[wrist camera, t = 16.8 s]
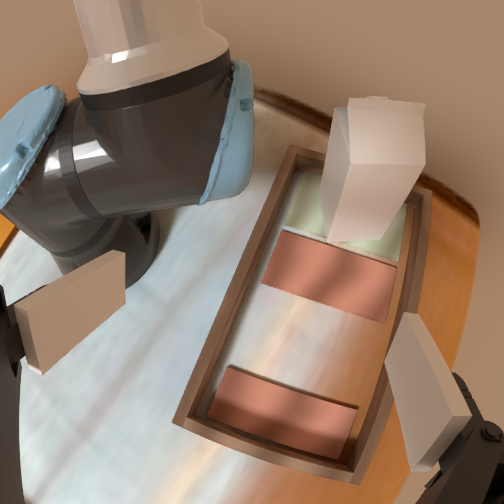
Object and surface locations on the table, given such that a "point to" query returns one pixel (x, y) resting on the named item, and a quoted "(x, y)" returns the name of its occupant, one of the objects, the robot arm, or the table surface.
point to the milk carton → (370, 166)
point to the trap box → (320, 290)
